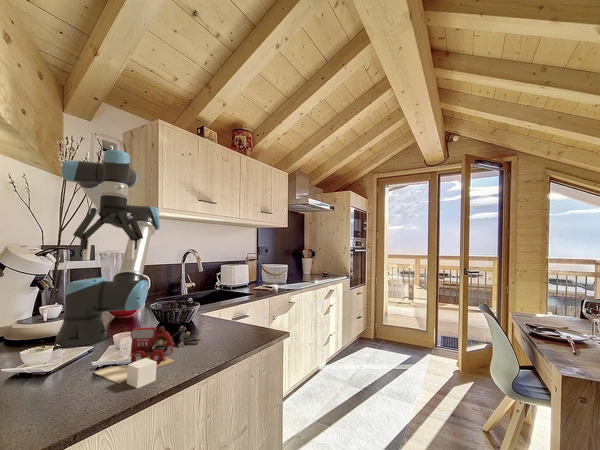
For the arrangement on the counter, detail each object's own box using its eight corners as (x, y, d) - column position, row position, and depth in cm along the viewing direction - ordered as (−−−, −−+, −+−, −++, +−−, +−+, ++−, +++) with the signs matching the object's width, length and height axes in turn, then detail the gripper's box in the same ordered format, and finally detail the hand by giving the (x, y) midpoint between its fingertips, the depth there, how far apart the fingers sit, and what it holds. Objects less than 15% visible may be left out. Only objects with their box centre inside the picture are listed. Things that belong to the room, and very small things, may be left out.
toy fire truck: (169, 363, 85) (171, 329, 86) (124, 367, 82) (127, 331, 83) (174, 355, 91) (176, 323, 92) (133, 357, 89) (135, 324, 90)
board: (93, 372, 79) (93, 371, 79) (149, 353, 93) (149, 352, 93) (118, 384, 72) (118, 383, 72) (175, 361, 87) (175, 360, 87)
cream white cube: (126, 383, 73) (127, 364, 73) (145, 376, 77) (146, 357, 78) (137, 388, 70) (138, 368, 71) (155, 380, 75) (156, 361, 75)
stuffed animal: (195, 345, 99) (169, 325, 100) (178, 368, 99) (152, 347, 99) (207, 334, 111) (183, 316, 112) (192, 354, 110) (169, 336, 111)
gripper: (75, 188, 80) (69, 261, 78) (155, 201, 102) (152, 258, 100) (63, 190, 84) (57, 260, 82) (143, 202, 105) (139, 258, 104)
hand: (109, 259), depth 91 cm, fingers open, 13 cm apart
